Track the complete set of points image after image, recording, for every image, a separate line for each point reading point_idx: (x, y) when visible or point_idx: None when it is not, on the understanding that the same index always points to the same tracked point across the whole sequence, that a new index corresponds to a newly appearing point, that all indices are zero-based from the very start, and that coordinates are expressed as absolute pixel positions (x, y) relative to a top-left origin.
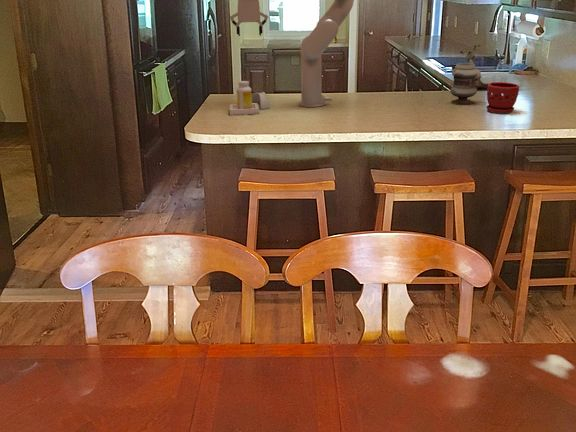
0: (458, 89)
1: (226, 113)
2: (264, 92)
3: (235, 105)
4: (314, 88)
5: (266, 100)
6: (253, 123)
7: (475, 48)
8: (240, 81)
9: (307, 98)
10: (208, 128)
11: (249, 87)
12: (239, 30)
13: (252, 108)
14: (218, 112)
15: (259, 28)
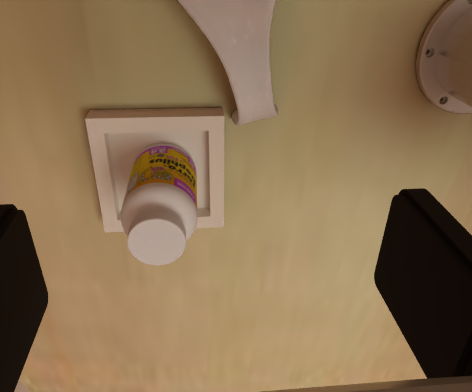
0: None
1: (86, 179)
2: (268, 79)
3: (115, 132)
4: None
5: (267, 117)
6: (200, 323)
7: None
8: (137, 232)
9: (464, 102)
10: (71, 364)
11: (188, 229)
12: (15, 377)
13: (196, 133)
14: (45, 155)
15: (425, 371)
